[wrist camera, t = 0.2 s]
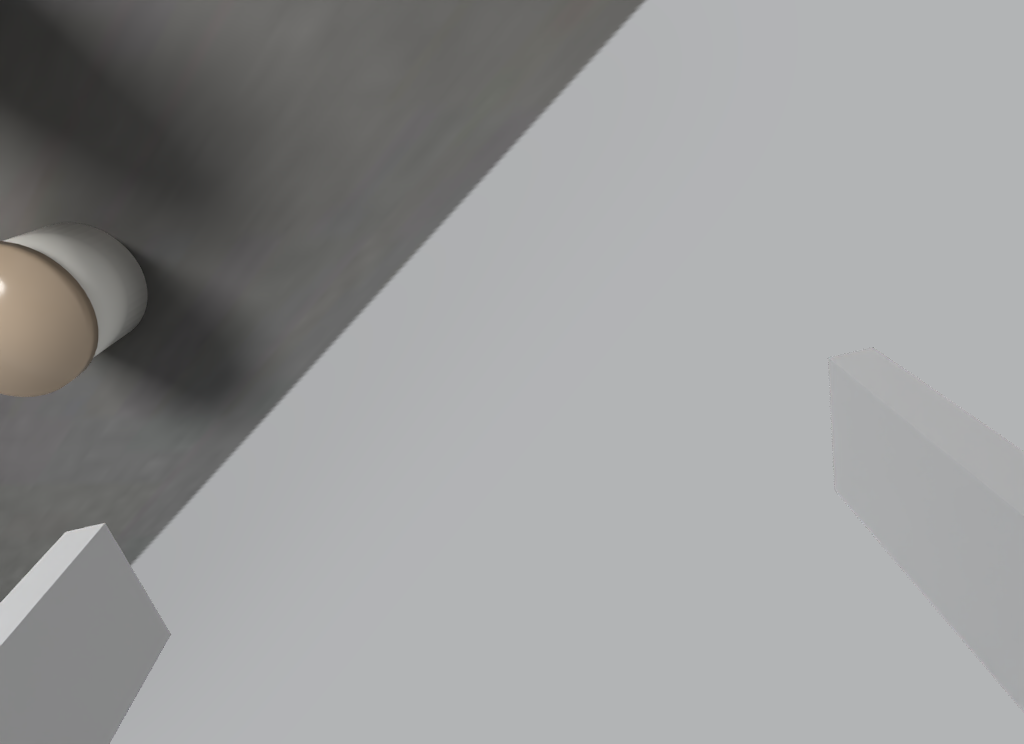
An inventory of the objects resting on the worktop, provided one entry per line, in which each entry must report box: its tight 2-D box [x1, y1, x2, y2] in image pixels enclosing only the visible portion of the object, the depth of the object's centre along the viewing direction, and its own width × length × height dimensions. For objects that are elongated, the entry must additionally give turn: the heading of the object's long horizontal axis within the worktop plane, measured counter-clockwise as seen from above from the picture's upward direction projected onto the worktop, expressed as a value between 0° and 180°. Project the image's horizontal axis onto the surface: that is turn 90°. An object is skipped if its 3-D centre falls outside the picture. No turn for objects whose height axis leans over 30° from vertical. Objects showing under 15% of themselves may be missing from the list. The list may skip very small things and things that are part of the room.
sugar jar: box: [0, 222, 148, 397], centre depth 35 cm, size 8×8×7 cm
